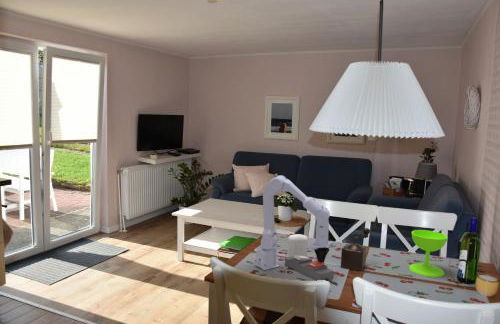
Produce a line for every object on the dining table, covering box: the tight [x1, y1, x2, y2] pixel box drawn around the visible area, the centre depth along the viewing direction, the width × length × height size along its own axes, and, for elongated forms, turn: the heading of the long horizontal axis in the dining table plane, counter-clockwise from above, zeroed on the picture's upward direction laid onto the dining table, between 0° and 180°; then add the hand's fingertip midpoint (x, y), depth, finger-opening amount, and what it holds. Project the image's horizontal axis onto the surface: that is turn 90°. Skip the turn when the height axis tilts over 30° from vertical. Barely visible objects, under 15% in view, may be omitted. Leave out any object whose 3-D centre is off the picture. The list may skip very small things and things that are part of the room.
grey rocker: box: [294, 255, 310, 261], centre depth 192 cm, size 6×4×1 cm, turn 125°
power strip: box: [284, 255, 339, 286], centre depth 186 cm, size 8×30×4 cm, turn 35°
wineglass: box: [408, 229, 448, 278], centre depth 195 cm, size 16×16×18 cm
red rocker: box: [308, 260, 325, 268], centre depth 184 cm, size 6×4×1 cm, turn 125°
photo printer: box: [286, 233, 309, 258], centre depth 207 cm, size 10×4×12 cm, turn 98°
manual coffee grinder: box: [340, 227, 371, 272], centre depth 199 cm, size 16×11×18 cm
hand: (320, 263), depth 186 cm, fingers closed, pressing on red rocker
